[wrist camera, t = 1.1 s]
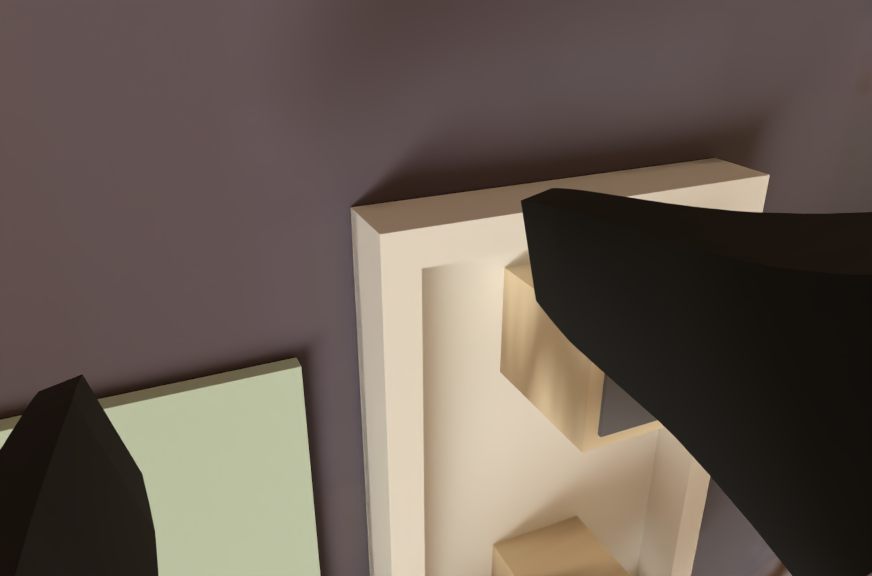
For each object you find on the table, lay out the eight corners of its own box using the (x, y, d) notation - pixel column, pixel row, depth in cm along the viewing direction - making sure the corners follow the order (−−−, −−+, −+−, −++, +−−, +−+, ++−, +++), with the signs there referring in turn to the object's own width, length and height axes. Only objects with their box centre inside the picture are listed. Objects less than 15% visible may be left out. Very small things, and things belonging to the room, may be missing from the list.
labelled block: (594, 349, 27) (691, 422, 23) (499, 371, 25) (585, 455, 21) (604, 249, 25) (711, 308, 21) (504, 267, 24) (597, 335, 19)
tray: (645, 584, 35) (681, 623, 33) (376, 693, 30) (398, 747, 28) (715, 157, 26) (769, 174, 24) (350, 207, 21) (379, 234, 19)
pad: (322, 632, 27) (326, 644, 27) (26, 738, 24) (25, 754, 23) (296, 357, 22) (301, 366, 22) (-85, 437, 19) (-89, 450, 18)
